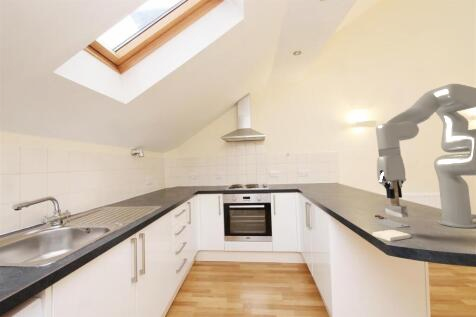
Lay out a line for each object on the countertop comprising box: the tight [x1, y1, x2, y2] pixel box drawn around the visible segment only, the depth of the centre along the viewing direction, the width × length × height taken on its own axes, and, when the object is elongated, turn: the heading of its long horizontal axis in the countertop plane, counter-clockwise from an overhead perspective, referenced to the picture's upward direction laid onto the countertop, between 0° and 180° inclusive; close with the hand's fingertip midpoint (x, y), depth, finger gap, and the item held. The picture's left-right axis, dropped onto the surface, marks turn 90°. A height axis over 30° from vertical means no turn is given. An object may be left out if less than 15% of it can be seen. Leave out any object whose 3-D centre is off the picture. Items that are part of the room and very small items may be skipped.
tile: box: [372, 229, 412, 242], centre depth 89 cm, size 2×8×10 cm
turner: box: [384, 181, 409, 218], centre depth 90 cm, size 3×7×16 cm, turn 15°
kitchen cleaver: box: [374, 214, 409, 229], centre depth 112 cm, size 24×1×10 cm
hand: (394, 197), depth 90 cm, fingers closed on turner, 2 cm apart
